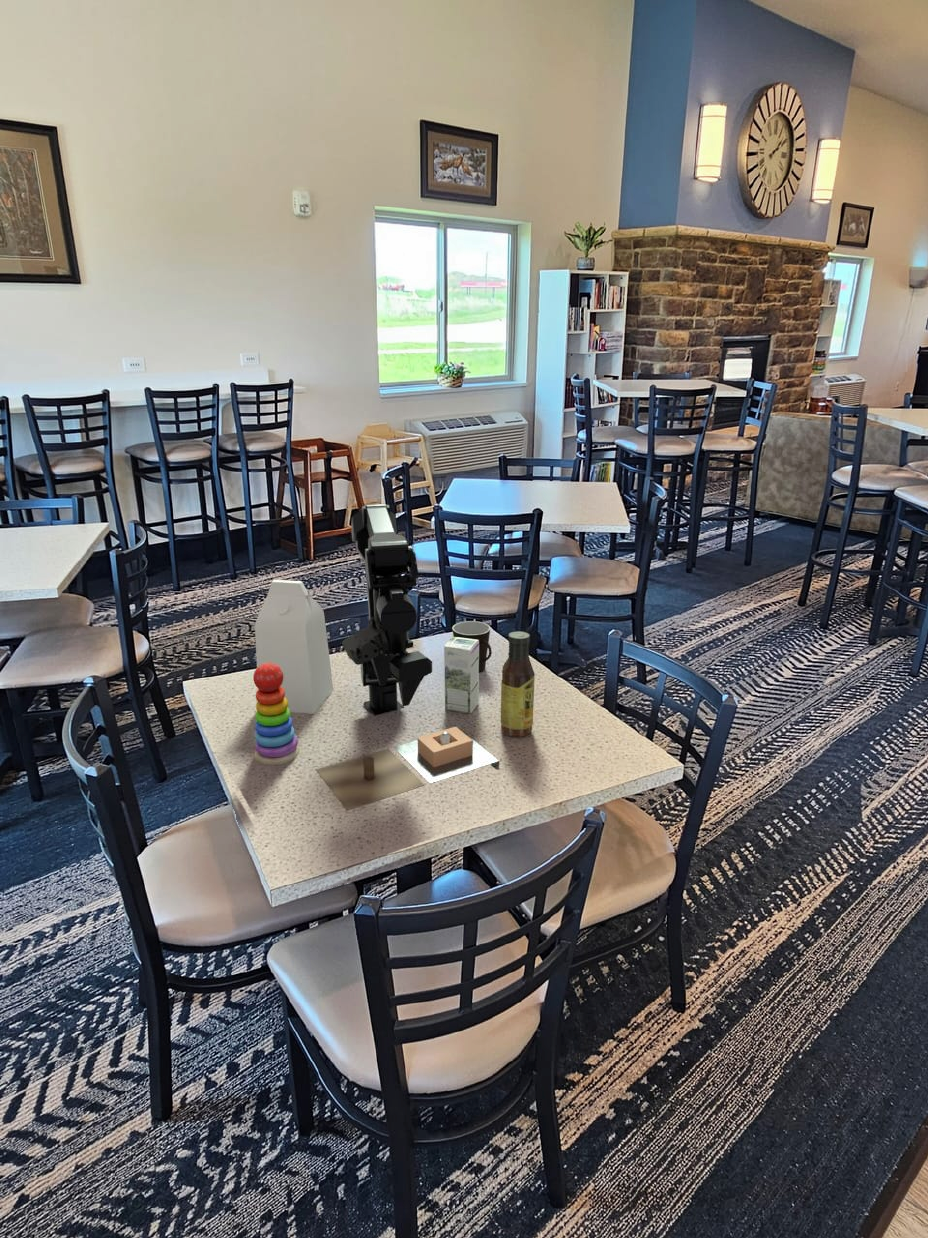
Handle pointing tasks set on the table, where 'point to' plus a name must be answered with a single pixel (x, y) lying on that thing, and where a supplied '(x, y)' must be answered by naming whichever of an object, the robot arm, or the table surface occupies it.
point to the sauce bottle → (517, 687)
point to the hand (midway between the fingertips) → (394, 695)
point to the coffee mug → (478, 633)
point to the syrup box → (461, 674)
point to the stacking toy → (273, 718)
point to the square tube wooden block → (445, 747)
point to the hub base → (448, 769)
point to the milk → (295, 644)
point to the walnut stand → (368, 778)
